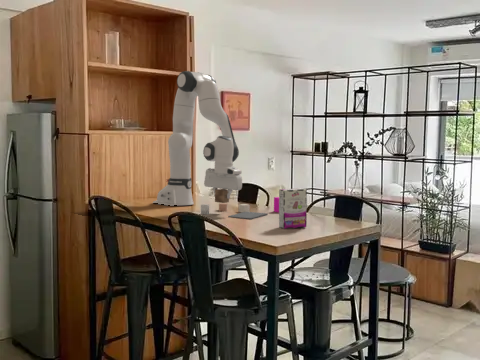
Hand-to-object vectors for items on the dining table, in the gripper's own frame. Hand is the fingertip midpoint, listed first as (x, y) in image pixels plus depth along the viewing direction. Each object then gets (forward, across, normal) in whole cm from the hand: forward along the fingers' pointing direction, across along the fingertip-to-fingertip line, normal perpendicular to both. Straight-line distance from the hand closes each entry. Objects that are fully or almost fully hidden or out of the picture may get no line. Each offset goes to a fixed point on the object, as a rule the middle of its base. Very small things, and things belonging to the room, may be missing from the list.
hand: (222, 197), depth 266 cm
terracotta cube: (+8, -5, +9) cm, 13 cm away
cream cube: (+8, +6, +12) cm, 15 cm away
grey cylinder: (+8, -5, -7) cm, 12 cm away
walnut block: (+2, 0, 0) cm, 2 cm away
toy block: (+7, +22, +29) cm, 38 cm away
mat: (+8, +14, +1) cm, 16 cm away
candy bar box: (+7, +45, -14) cm, 48 cm away
